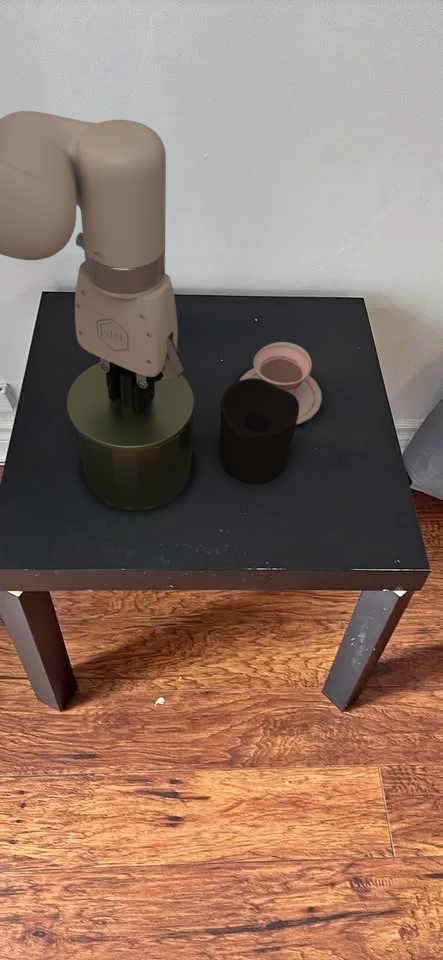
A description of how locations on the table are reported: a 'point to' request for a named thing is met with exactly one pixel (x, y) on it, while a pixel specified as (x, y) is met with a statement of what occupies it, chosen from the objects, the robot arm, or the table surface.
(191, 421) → the bin
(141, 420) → the bin lid
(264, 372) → the teacup
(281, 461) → the pen holder
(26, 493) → the table surface
